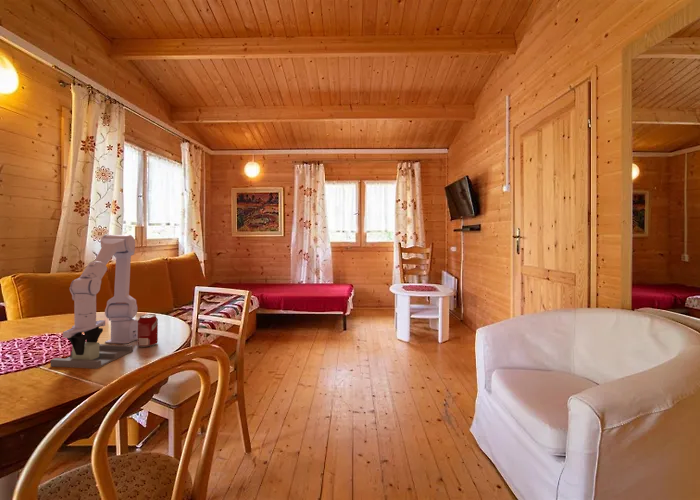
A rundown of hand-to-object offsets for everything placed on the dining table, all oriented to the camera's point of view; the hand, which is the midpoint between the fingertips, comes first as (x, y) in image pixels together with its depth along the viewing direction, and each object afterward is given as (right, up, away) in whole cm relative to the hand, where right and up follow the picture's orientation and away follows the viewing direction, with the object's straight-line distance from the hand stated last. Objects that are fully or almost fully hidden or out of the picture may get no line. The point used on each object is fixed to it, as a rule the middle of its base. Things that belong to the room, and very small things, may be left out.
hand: (85, 352), depth 109 cm
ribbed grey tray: (0, -3, +4) cm, 5 cm away
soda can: (+10, -3, +18) cm, 21 cm away
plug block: (0, -2, 0) cm, 2 cm away
